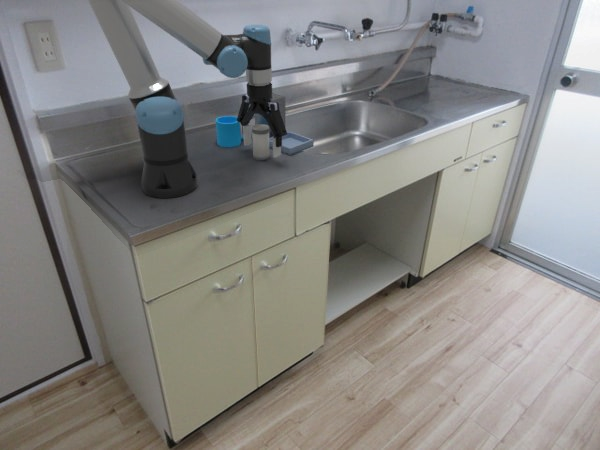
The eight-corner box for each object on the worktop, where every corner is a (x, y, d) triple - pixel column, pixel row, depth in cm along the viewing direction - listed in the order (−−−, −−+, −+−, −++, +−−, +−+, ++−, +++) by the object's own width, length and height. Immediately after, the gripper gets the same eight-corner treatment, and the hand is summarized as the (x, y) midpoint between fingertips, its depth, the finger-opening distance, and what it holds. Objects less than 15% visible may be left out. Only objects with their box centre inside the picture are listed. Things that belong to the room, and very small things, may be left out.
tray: (290, 155, 148) (290, 148, 147) (265, 146, 155) (265, 139, 153) (313, 146, 155) (313, 139, 154) (289, 137, 162) (289, 131, 160)
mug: (223, 149, 152) (221, 125, 148) (213, 141, 158) (211, 118, 154) (255, 142, 158) (254, 119, 153) (244, 135, 163) (243, 112, 159)
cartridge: (261, 161, 143) (260, 131, 138) (249, 157, 147) (248, 127, 141) (273, 157, 147) (272, 127, 142) (261, 152, 150) (261, 122, 145)
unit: (269, 141, 158) (268, 99, 150) (255, 136, 162) (254, 94, 154) (286, 135, 163) (285, 94, 156) (272, 130, 167) (271, 90, 160)
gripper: (298, 88, 129) (298, 157, 141) (241, 73, 144) (245, 137, 155) (280, 93, 125) (281, 164, 136) (222, 77, 139) (227, 143, 150)
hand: (262, 150), depth 146 cm, fingers open, 13 cm apart
